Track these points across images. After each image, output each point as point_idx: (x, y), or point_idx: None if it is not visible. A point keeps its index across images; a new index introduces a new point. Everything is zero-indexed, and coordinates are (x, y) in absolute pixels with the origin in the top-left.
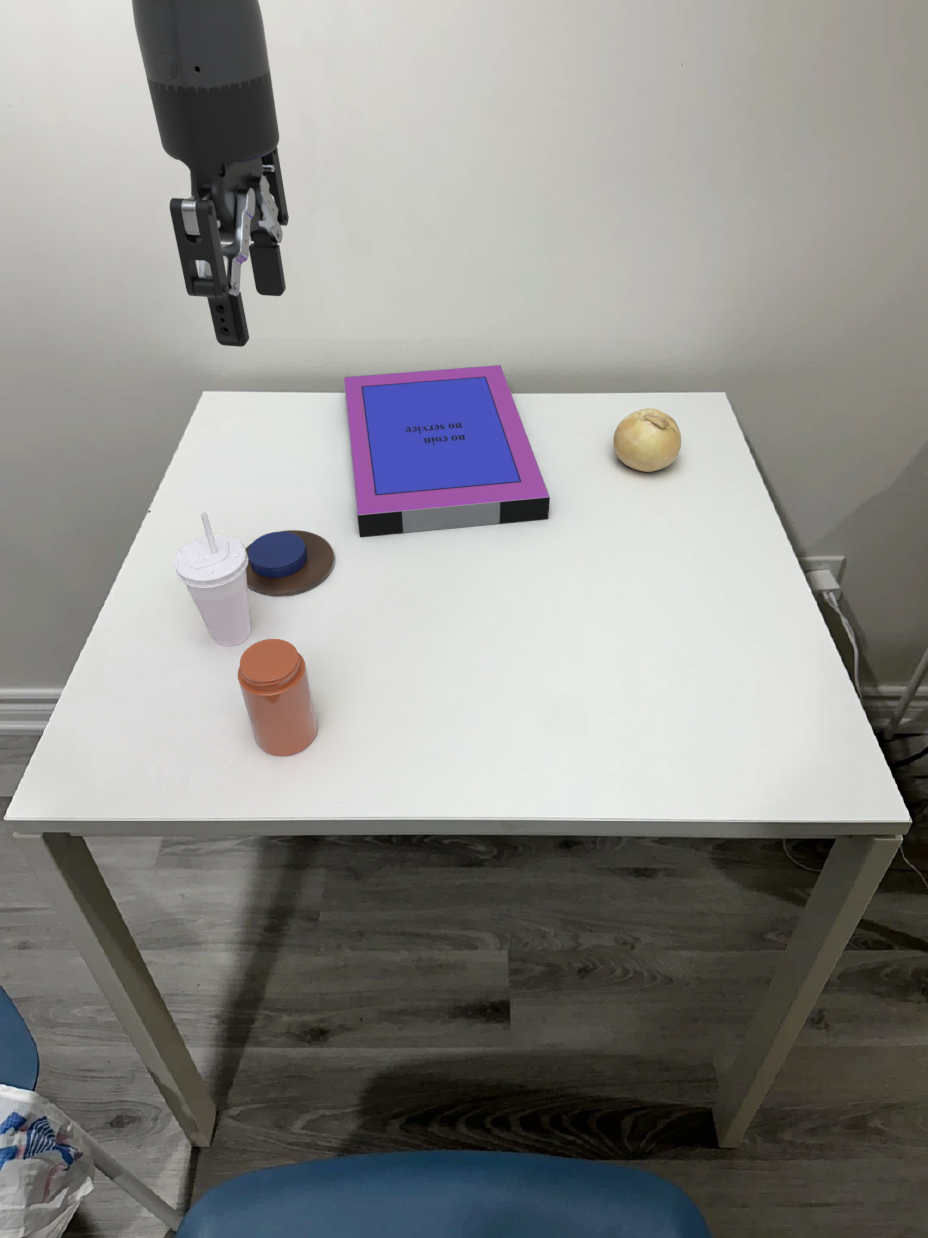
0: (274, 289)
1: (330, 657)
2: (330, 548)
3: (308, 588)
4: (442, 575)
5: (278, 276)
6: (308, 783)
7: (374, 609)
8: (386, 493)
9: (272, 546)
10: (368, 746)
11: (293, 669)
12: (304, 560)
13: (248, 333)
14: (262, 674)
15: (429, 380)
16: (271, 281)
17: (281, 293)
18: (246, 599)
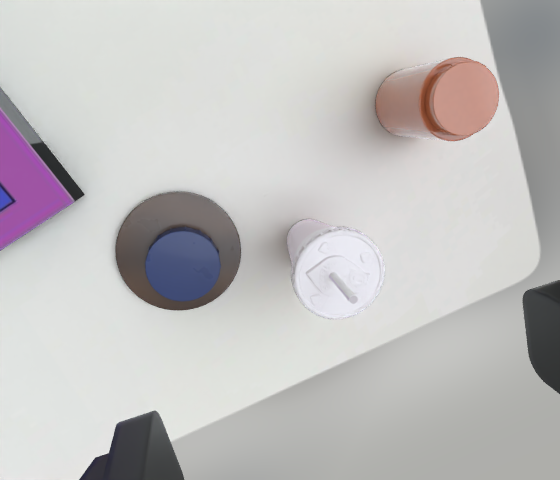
0: (162, 446)
1: (297, 114)
2: (132, 214)
3: (210, 200)
4: (99, 45)
5: (149, 465)
6: (454, 45)
7: (203, 104)
8: (2, 188)
9: (181, 274)
10: (395, 6)
11: (470, 61)
12: (174, 229)
13: (546, 294)
14: (489, 92)
15: None
16: (162, 476)
17: (156, 414)
18: (313, 226)
